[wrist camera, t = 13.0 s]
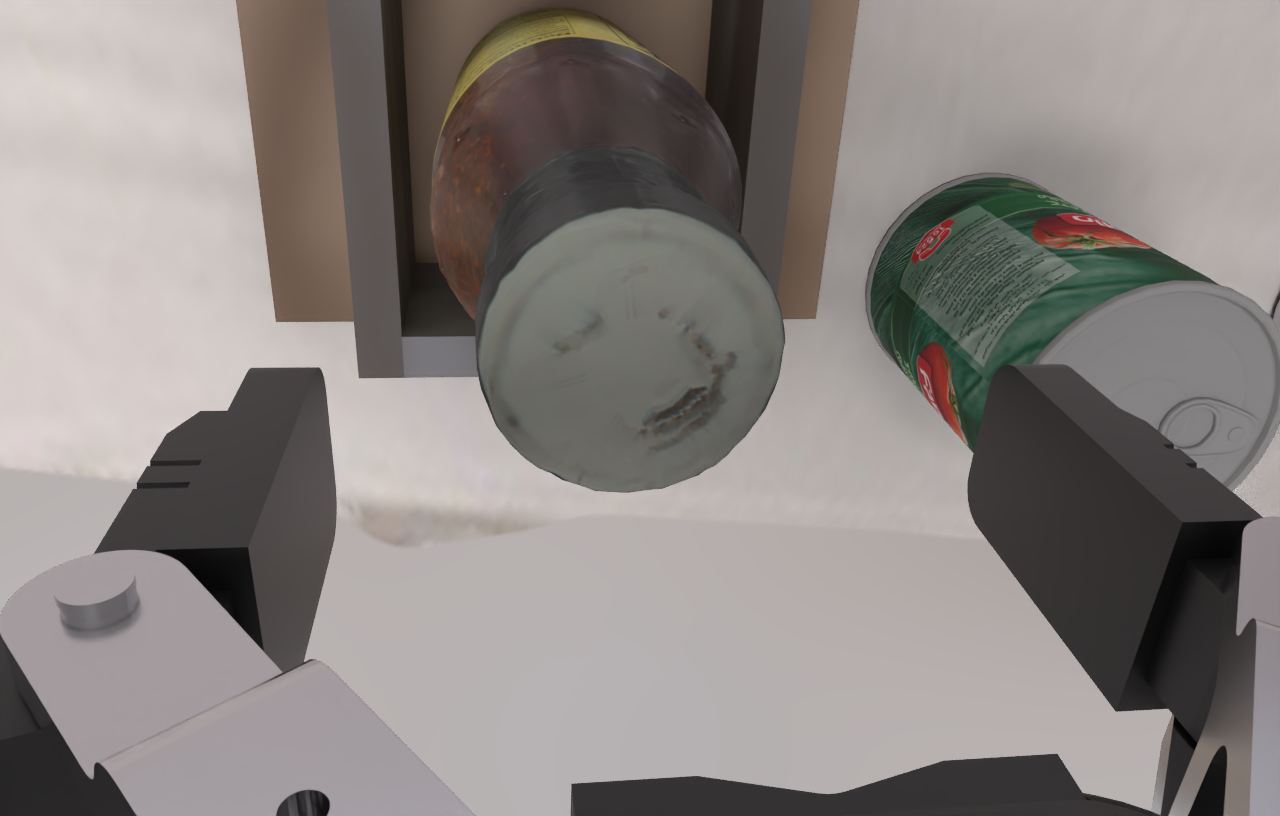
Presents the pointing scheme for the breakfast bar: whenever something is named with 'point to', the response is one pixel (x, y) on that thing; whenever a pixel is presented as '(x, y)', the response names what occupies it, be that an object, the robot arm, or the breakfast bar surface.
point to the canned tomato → (1071, 318)
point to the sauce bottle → (601, 255)
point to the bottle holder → (414, 115)
